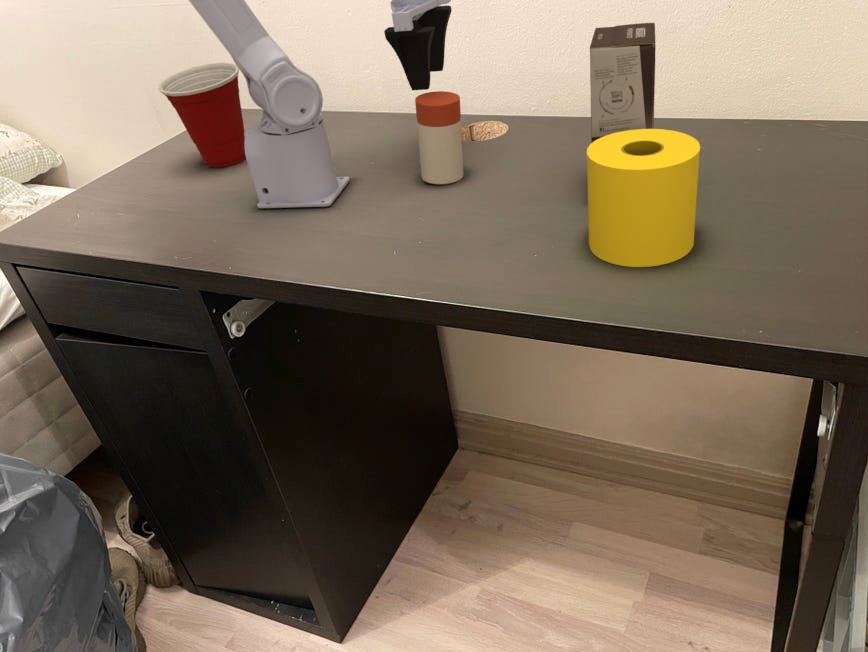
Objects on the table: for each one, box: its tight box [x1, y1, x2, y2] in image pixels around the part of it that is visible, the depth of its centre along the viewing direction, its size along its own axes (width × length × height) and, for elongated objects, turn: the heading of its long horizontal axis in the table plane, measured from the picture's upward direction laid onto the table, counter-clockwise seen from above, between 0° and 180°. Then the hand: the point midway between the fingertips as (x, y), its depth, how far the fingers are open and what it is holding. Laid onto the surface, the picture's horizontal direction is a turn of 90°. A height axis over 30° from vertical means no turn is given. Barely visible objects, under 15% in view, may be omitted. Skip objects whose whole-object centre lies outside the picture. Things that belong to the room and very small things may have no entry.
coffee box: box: [589, 22, 656, 144], centre depth 79 cm, size 9×6×16 cm
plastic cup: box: [157, 62, 246, 168], centre depth 102 cm, size 11×11×12 cm
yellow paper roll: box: [586, 128, 701, 268], centre depth 69 cm, size 10×10×9 cm
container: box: [414, 90, 464, 185], centre depth 88 cm, size 5×5×10 cm
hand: (428, 79), depth 91 cm, fingers open, 7 cm apart
